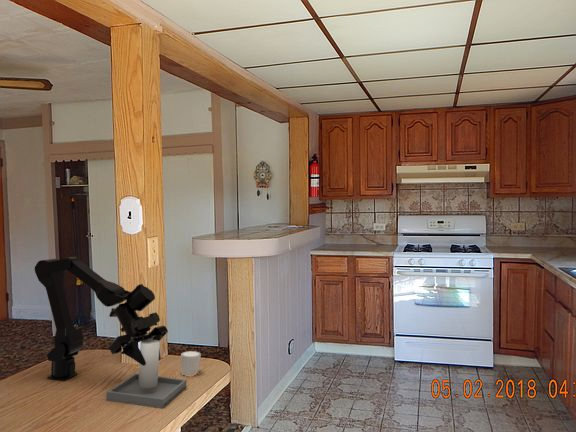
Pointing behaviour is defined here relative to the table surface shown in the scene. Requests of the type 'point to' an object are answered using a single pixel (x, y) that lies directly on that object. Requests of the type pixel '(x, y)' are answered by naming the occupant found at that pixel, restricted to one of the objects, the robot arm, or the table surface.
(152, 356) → the candle
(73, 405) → the table surface
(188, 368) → the shot glass
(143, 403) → the tray
